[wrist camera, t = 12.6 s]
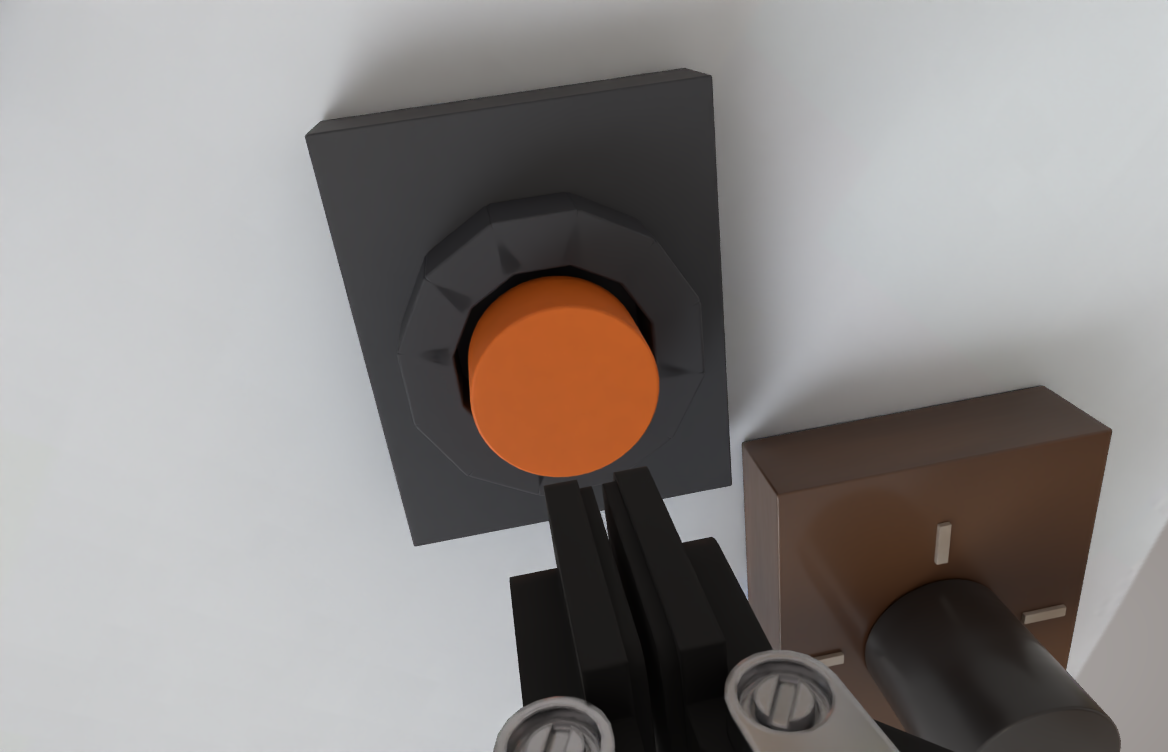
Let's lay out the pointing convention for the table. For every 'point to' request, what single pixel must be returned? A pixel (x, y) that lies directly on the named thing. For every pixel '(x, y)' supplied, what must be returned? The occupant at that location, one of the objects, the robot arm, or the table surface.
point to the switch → (560, 377)
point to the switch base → (529, 271)
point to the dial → (979, 677)
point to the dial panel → (921, 521)
